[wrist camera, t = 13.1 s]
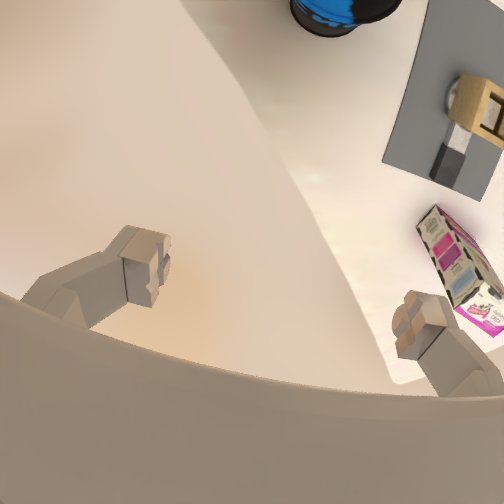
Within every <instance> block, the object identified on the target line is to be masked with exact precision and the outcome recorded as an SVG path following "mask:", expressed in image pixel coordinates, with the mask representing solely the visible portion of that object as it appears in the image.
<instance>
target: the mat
mask: <svg viewBox="0 0 504 504" xmlns="http://www.w3.org/2000/svg"><path fill="white" fill-rule="evenodd" d="M461 73H465V74H469V75H474V76H478V77H482V78H486V79H488V80H490V81H491V82H493V83H494V84H496V85H497V86H499V87H500V88H502V89H503V90H504V11H503V10H502V9H500V8H499V7H497V6H496V5H495V4H493V3H492V2H490V1H489V0H429V3H428V7H427V12H426V16H425V21H424V25H423V29H422V33H421V37H420V41H419V45H418V49H417V52H416V56H415V60H414V63H413V67H412V70H411V74H410V77H409V81H408V84H407V87H406V91H405V94H404V97H403V100H402V104H401V107H400V110H399V113H398V116H397V119H396V122H395V125H394V128H393V131H392V134H391V137H390V140H389V143H388V145H387V148H386V151H385V154H384V157H383V159H382V163H385V164H388V165H391V166H393V167H396V168H399V169H402V170H404V171H407V172H410V173H412V174H415V175H418V176H420V177H423V178H425V179H428V180H430V181H433V180H432V179H431V178H430V177H429V174H430V172H431V169H432V167H433V164H434V162H435V159H436V157H437V154H438V152H439V149H440V147H441V144H442V143H443V142H444V140H445V137H446V134H447V132H448V129H449V126H450V123H451V119H449V118H447V117H448V114H447V112H446V109H445V103H444V98H445V92H446V89H447V87H448V85H449V84H450V83H451V82H452V81H453V80H454V79H456V78H459V77H460V76H461ZM502 151H503V149H501V148H499V147H498V146H496V145H495V144H493V143H491V142H489V141H488V140H486V139H484V138H483V137H481V136H479V135H477V134H476V133H472V135H471V137H470V140H469V143H468V145H467V148H466V151H465V153H464V154H465V155H466V158H465V161H464V163H463V166H462V168H461V170H460V173H459V175H458V177H457V180H456V182H455V184H454V186H453V189H452V190H454V191H457V192H459V193H461V194H463V195H466V196H468V197H470V198H472V199H474V200H477V201H479V202H480V201H481V199H482V197H483V195H484V193H485V191H486V188H487V186H488V184H489V182H490V180H491V177H492V175H493V173H494V170H495V168H496V166H497V163H498V161H499V158H500V156H501V154H502ZM433 182H434V181H433ZM435 183H436V182H435ZM438 184H439V183H438ZM440 185H441V184H440ZM445 187H446V186H445ZM447 188H448V187H447Z"/></svg>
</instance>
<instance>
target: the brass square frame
mask: <svg viewBox="0 0 504 504" xmlns="http://www.w3.org/2000/svg"><path fill="white" fill-rule="evenodd" d="M489 97H490V98H491V99H492V100H494V101H495V102H497V103H498V104H500V105H501V109H500V112H499V115H498V118H497V121H496V124H495V126H494V129H493V130H491V129H489V128H487V127H486V126H484V125H482V128H481V127H480V124H481V121H482V118H483V115H484V112H485V109H486V106H487V103H488V100H489ZM447 118H449V119H451V120H452V121H454V122H456V123H458V124H460V125H461V126H463V127H465V128H467V129H468V130H470V131H472V132H474V133H476V134H477V135H479V136H481V137H483V138H484V139H486V140H488V141H489V142H491V143H493V144H495V145H496V146H498V147H499V148H501V149H503V150H504V90H503V89H502V88H500V87H499V86H497V85H496V84H494V83H493V82H491V81H490V80H488V79H486V78H482V77H478V76H474V75H469V74H465V73H461V76H460V80H459V83H458V86H457V90H456V93H455V96H454V99H453V102H452V105H451V108H450V111H449V114H448V117H447Z"/></svg>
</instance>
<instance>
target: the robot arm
mask: <svg viewBox="0 0 504 504" xmlns="http://www.w3.org/2000/svg"><path fill="white" fill-rule="evenodd" d="M170 246H171V245H170V236H169V235H167V234H162V233H159V232H155V231H150V230H146V229H141V228H138V227H134V226H129V225H127V226H125V227H124V228H123V229H122V230H121V231H120V232H119V234H118V235H117V236H116V237H115V238H114V240H113V241H112V242H111V243H110V245H109V246H108V247H107V248H106V249H105V251H104V252H97V253H94V254H92V255H90V256H87V257H85V258H82V259H80V260H78V261H75V262H73V263H70V264H68V265H66V266H63V267H61V268H59V269H56V270H54V271H52V272H49V273H47V274H45V275H43V276H40V277H39V278H38V279H37V281H36V282H35V283H34V284H33V285H32V287H31V288H30V289H29V290H28V292H27V293H26V294H25V295H24V297H23V298H22V299H21V300H20V301H19V300H16V299H14V298H12V297H10V296H8V295H6V294H4V293H2V292H0V504H504V382H503V379H502V376H501V373H500V371H499V369H498V368H497V367H496V366H495V365H494V364H493V362H492V361H491V360H490V359H489V358H488V357H487V356H486V355H485V353H484V352H483V351H482V350H481V349H480V348H479V347H478V346H477V345H476V344H475V343H474V341H473V340H472V339H471V338H470V337H469V336H468V335H467V334H466V333H465V332H464V331H463V330H460V329H459V326H458V324H457V321H456V319H455V316H454V314H453V311H452V309H451V306H450V304H449V302H448V299H447V298H446V297H445V296H439V295H432V294H427V293H422V292H418V291H413V290H410V291H409V292H408V293H407V294H406V296H405V297H404V302H405V303H404V304H403V305H401V306H399V307H398V308H397V310H396V312H395V313H394V316H393V320H392V330H393V333H394V335H395V336H396V337H397V338H398V339H397V341H396V342H395V345H396V349H397V354H398V358H402V359H409V360H416V361H417V362H418V364H419V365H420V367H421V368H422V370H423V372H424V373H425V375H426V376H427V378H428V379H429V381H430V383H431V384H432V386H433V387H434V389H435V390H436V392H437V394H438V395H439V397H433V396H407V395H391V394H378V393H366V392H356V391H347V390H338V389H330V388H323V387H316V386H309V385H302V384H296V383H290V382H284V381H278V380H272V379H267V378H262V377H257V376H252V375H247V374H242V373H238V372H232V371H228V370H224V369H220V368H216V367H211V366H207V365H203V364H199V363H195V362H191V361H187V360H184V359H180V358H176V357H173V356H169V355H166V354H162V353H159V352H155V351H152V350H149V349H145V348H142V347H139V346H136V345H133V344H130V343H126V342H123V341H120V340H117V339H114V338H112V337H108V336H106V335H103V334H100V333H97V332H94V331H92V330H89V329H90V328H91V327H93V326H94V325H96V324H97V323H99V322H100V321H102V320H103V319H105V318H106V317H108V316H109V315H111V314H112V313H114V312H115V311H116V310H118V309H120V308H121V307H122V306H124V305H126V304H127V302H130V303H134V304H137V305H141V306H145V307H150V308H152V307H153V305H154V302H155V301H156V299H157V297H158V295H159V287H160V286H162V285H164V282H165V281H166V279H167V275H168V272H169V267H170V256H169V255H168V253H167V252H168V250H169V248H170Z"/></svg>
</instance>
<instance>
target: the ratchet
mask: <svg viewBox="0 0 504 504" xmlns="http://www.w3.org/2000/svg"><path fill="white" fill-rule="evenodd" d="M459 80H460V77H459V78H456V79H454V80H453V81H452V82H451V83H450V84H449V85H448V87H447V89H446V92H445V98H444V103H445V109H446V112H447V114H449V111H450V108H451V105H452V102H453V99H454V96H455V93H456V90H457V86H458V83H459ZM500 109H501V105H500V104H498V103H497V102H495V101H494V100H492V99H491V98H490V97H489V100H488V103H487V106H486V109H485V112H484V115H483V118H482V121H481V124H480V127H481V128H482V125H484V126H486V127H487V128H489V129H491V130H493V129H494V126H495V124H496V121H497V118H498V115H499V112H500ZM472 133H474V132H472V131H470V130H468V129H467V128H465V127H463V126H461V125H460V124H458V123H456V122H454V121H452V120H451V123H450V126H449V129H448V132H447V134H446V137H445V140H444V142H443V143H442V144H441V147H440V149H439V152H438V154H437V157H436V159H435V162H434V164H433V167H432V169H431V172H430V174H429V177H430V178H431V179H432V180H433V181H434V182H436V183H439V184H441V185H443V186H446V187H448V188H450V189H453V186H454V184H455V182H456V180H457V177H458V175H459V173H460V170H461V168H462V166H463V163H464V161H465V158H466V155H465V154H464V153H465V151H466V148H467V145H468V143H469V140H470V137H471V135H472Z"/></svg>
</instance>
